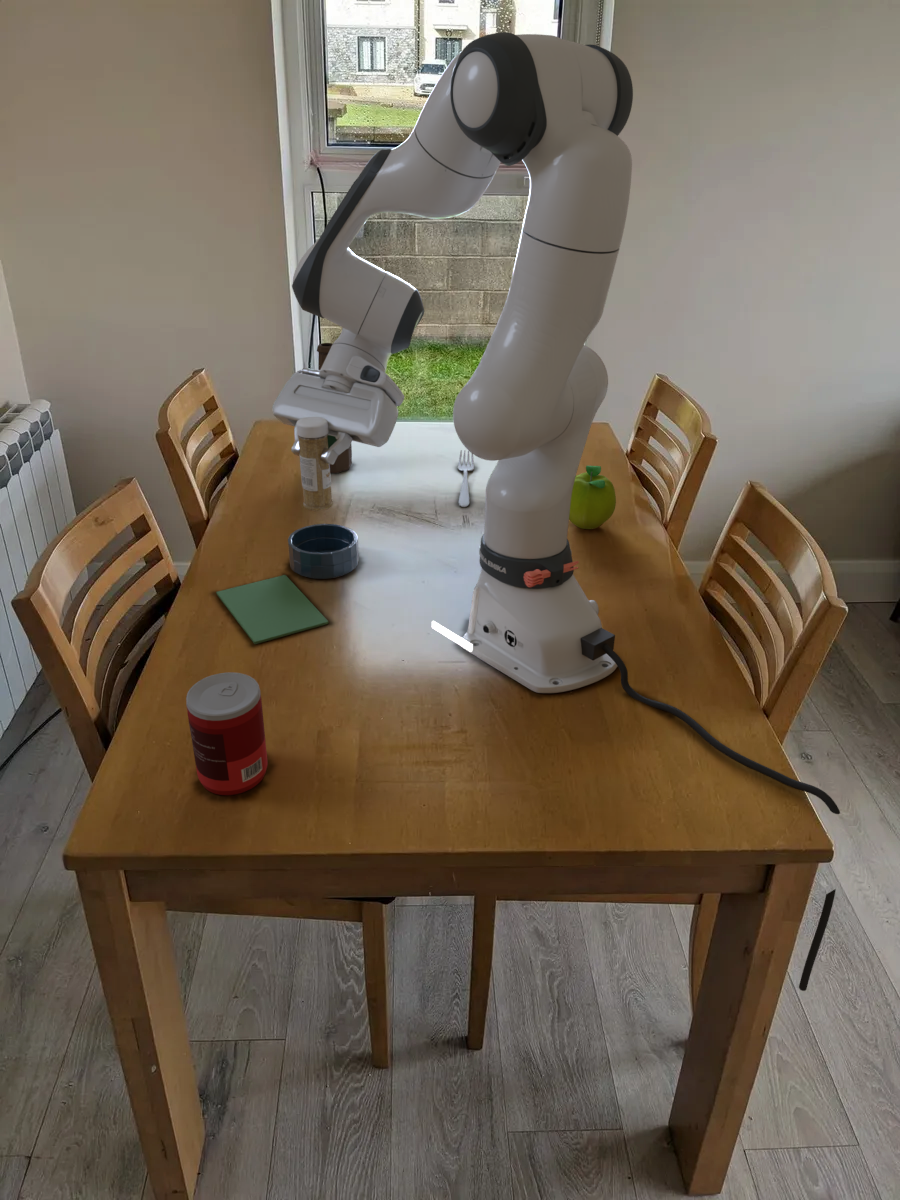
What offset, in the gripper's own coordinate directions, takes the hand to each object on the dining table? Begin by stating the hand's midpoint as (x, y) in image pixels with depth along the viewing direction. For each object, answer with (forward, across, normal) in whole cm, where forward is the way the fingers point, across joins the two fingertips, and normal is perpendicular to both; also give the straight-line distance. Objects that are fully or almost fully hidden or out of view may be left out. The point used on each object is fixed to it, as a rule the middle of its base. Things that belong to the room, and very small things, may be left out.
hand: (311, 458), depth 136 cm
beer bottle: (-11, -26, +37) cm, 47 cm away
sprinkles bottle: (+5, 0, +6) cm, 8 cm away
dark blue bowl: (+12, -1, +14) cm, 19 cm away
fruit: (-14, +27, +41) cm, 51 cm away
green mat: (+22, +2, +4) cm, 23 cm away
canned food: (+44, +24, -17) cm, 52 cm away
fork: (-17, 0, +44) cm, 47 cm away
